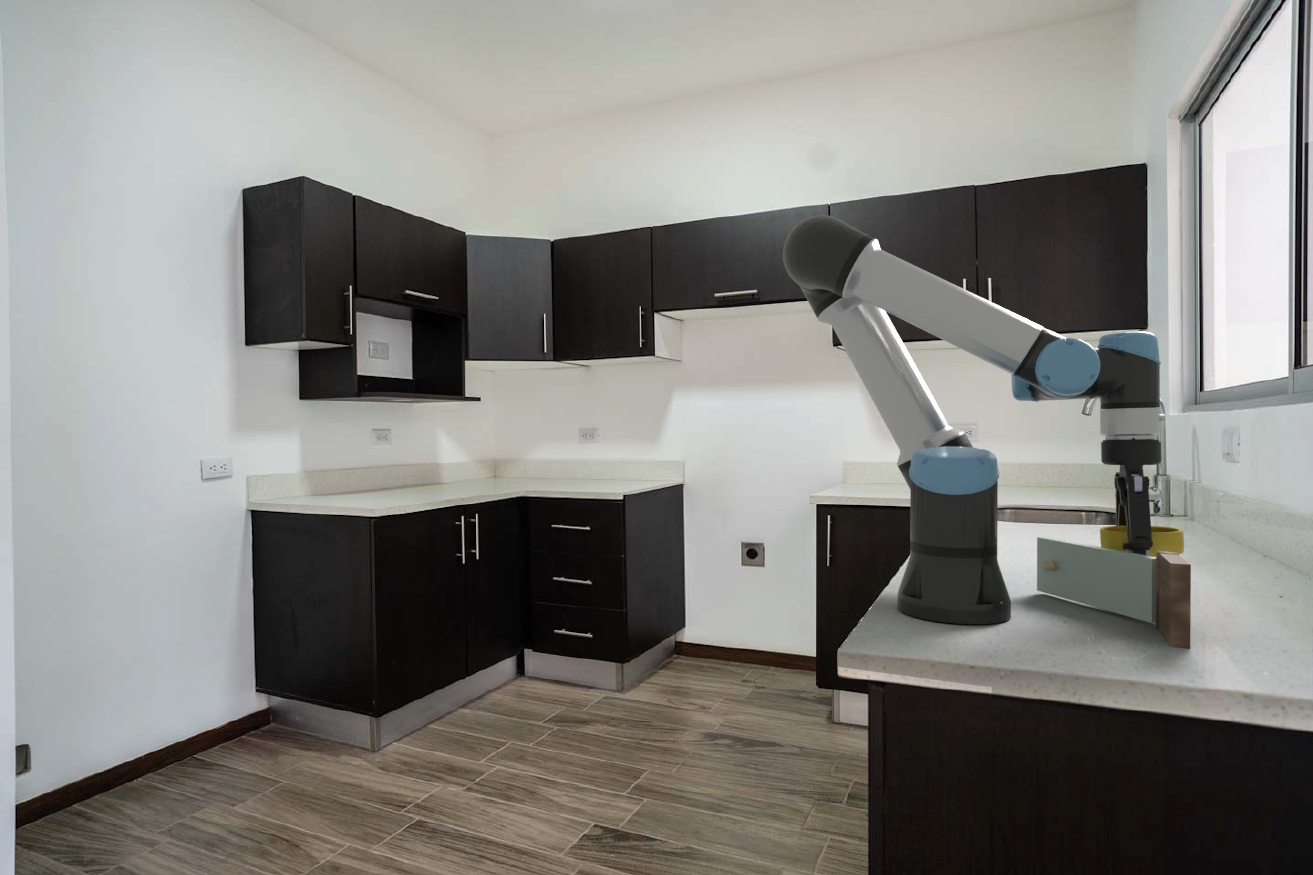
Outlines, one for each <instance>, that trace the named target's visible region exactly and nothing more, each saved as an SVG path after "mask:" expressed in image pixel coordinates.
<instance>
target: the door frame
mask: <svg viewBox="0 0 1313 875" xmlns="http://www.w3.org/2000/svg"><path fill="white" fill-rule="evenodd" d="M1191 577H1192V565H1191V564H1190V562H1189V561H1188V560H1186V559H1185V558H1183V557H1182V556H1181V555H1180V554H1179V555H1178V553H1175V552H1165V551H1158V552H1156V623H1155V629H1156V630H1159V632H1160V634H1161V636H1163V638H1164V639H1165V641H1166V642H1167V644H1168V645H1169V646H1170V647H1176V648H1177V647H1178V648H1185V649H1187V648H1188V649H1191V617H1192V616H1191V610H1192V609H1191V608H1192V607H1191V606H1192V605H1191V604H1192V602H1191V599H1192V597H1191V596H1192V595H1191V591H1192V590H1191V588H1192V584H1191V583H1192V580H1191V579H1192V578H1191Z"/></svg>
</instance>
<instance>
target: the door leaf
mask: <svg viewBox="0 0 1313 875" xmlns="http://www.w3.org/2000/svg"><path fill="white" fill-rule="evenodd" d="M1036 539H1037V541H1036V545H1037V546H1036V591H1037V592H1041V593H1045V594H1049V595H1051V596H1055V597H1059V598H1062V599H1064V600H1065V599H1066V600H1069V601H1073V602H1076V603H1080V604H1084V605H1088V606H1091V607H1094V608H1098V609H1102V610H1104V611H1109V612H1110V613H1111V612H1112V613H1115V614H1119V615H1123V616H1125V617H1130V618H1132V619H1136V620H1140V621H1143V622H1144V621H1145V622H1147V623H1150V624H1156V557H1152V556H1146V555H1141V554H1136V553H1130V552H1125V551H1119V550H1114V549H1109V548H1103V547H1101V546H1096V545H1093V544H1092V545H1091V544H1086V543H1081V542H1075V541H1070V540H1066V539H1065V540H1064V539H1059V538H1054V537H1049V536H1038V537H1037V538H1036Z"/></svg>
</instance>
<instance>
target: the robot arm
mask: <svg viewBox="0 0 1313 875" xmlns="http://www.w3.org/2000/svg"><path fill="white" fill-rule="evenodd" d="M782 260H783V266H784V268H785V270H786V273H787V274H788V276H789V277H790V278H791V280H793V281H794V283H795V284H797V285H798V286H799V287H800V289H801V291H802V293H803V295H804V297H805V298H806V300H807V302H808V304H809V306H810V308H811V309H812V311H813V312H814V315H815V317H816V319H817V321H818V322H820V323H824V324H828V325H830V326H831V327H832V329H833V331H834V333H835V334H836V336H837V338H838V339H839V341H840V343H841V345H842V347H843V349H844V350H845V352H846V354H847V355H848V358H849V359H850V361H851V363H852V365H853V367H854V369H855V370H856V372H857V374H858V376H859V378H860V379H861V381H862V383H863V385H864V387H865V389H866V391H867V393H868V395H869V397H870V398H871V400H872V401H873V403H874V404H873V405H875V407H876V409H877V411H878V413H879V415H880V416H881V419H882V421H883V422H884V424H885V426H886V427H887V430H888V431H889V433H890V434H891V437H892V438H893V440H894V442H895V445H896V446H897V448H898V449H899V455H898V459H897V462H896V465H897V467H898V470H899V471H900V473H901V475H902V477H903V478H904V480H905V483H906V484H907V486H908V488H909V489H910V490H909V491H910V506H909V507H910V512H909V513H910V517H909V518H910V520H909V521H910V523H909V525H910V527H909V528H910V530H909V531H910V532H909V533H910V535H909V536H910V537H909V538H910V540H909V541H910V542H909V543H910V547H909V548H910V551H909V552H910V553H909V558H908V561H907V564H906V568H905V570H904V574H903V576H902V579H901V581H900V582H901V583H900V584H899V587H898V591H897V605H896V606H897V609H898V610H899V611H900V612H902V613H904V614H905V615H907V616H911V617H914V618H918V619H921V620H927V621H932V622H937V623H938V622H940V623H946V624H947V623H949V624H957V625H958V624H959V625H986V624H987V625H988V624H989V625H991V624H998V623H1003V622H1006V621H1009V620H1010V619H1011V618H1012V601H1011V597H1010V594H1009V591H1008V588H1007V586H1006V583H1005V580H1004V577H1003V574H1002V571H1001V568H1000V565H999V561H998V524H999V523H998V516H999V515H998V511H999V510H998V506H999V505H998V500H999V499H998V496H999V494H998V492H999V490H998V489H999V488H998V487H999V483H998V480H999V478H1000V470H999V466H998V458H997V457H996V455H995V454H994V453H993V452H992V451H990V450H988V449H985V448H984V449H982V448H977V447H974V446H973V444H972V442H971V440H969V437H968V436H967V433H966V432H965V430H961V429H958V428H955V427H952V426H950V424H949V423H948V420H947V419H946V417H945V414H944V413H943V411H942V409H941V408H940V406H939V405H938V403H937V400H936V399H935V397H934V395H933V394H932V392H931V390H930V388H929V386H928V385H927V383H926V381H925V380H924V377H923V376H922V374H921V372H920V370H919V369H918V367H917V365H916V363H915V361H914V359H913V358H912V356H911V355H910V353H909V350H908V349H907V346H906V345H905V343H904V342H903V340H902V338H901V337H900V334H899V333H898V332H897V329H896V327H895V326H894V323H893V322H892V321H891V318H890V317H889V315H888V314H890V315H892V316H894V317H896V318H898V319H901V320H902V321H905V322H906V323H908V324H910V325H913V326H914V327H916V328H918V329H921V330H922V331H924V332H927V333H928V334H931V335H933V336H935V337H936V338H939V339H941V340H942V341H945V342H947V343H948V344H951V345H953V346H954V347H957V348H958V349H961V350H963V351H965V352H966V353H969V354H970V355H973V356H975V357H977V358H978V359H979V360H980V359H981V360H982V361H985V362H986V363H988V364H991V365H993V366H994V367H996V368H998V369H1001V370H1002V371H1004V372H1007V373H1009V374H1011V390H1012V391H1011V392H1012V396H1013V398H1014V399H1015V400H1017V401H1019V402H1021V401H1022V402H1024V401H1025V402H1027V401H1029V402H1036V403H1037V402H1038V403H1039V402H1040V401H1041V402H1043V401H1063V400H1066V401H1067V400H1083V399H1085V400H1086V399H1088V400H1094V399H1099V402H1100V403H1099V404H1100V409H1099V421H1100V422H1099V424H1100V425H1099V426H1100V427H1099V430H1100V434H1099V435H1101V436H1102V437H1104V439H1103V440H1102V441H1101V442H1100V448H1101V449H1100V452H1101V453H1100V454H1101V455H1100V457H1101V458H1100V459H1101V460H1100V461H1101V463H1102V464H1104V465H1106V466H1119V471H1116V472H1115V474H1114V479H1113V480H1114V488H1115V494H1114V495H1115V496H1114V498H1115V525H1114V526H1127V535H1128V543H1123V546H1122V548H1123V549H1127V552H1130V553H1136V554H1141V555H1146V556H1150V548H1151V547H1152V546H1153V541H1152V534H1151V526H1152V524H1151V521H1152V520H1151V509H1150V508H1151V507H1150V494H1149V493H1150V492H1149V490H1150V478H1149V476H1147V475H1146V476H1145V474H1144V469H1143V468H1144V466H1156V465H1160V464H1161V462H1162V441H1160V439H1159V438H1157V439H1156V436H1159V435H1161V422H1163V421H1165V420H1166V416H1165V414H1164V413H1163V414H1162V413H1161V414H1160V412H1161V410H1160V409H1161V408H1160V407H1161V404H1160V400H1161V398H1160V397H1161V393H1160V392H1161V390H1160V389H1161V388H1160V386H1161V384H1160V382H1161V380H1160V379H1161V378H1160V374H1161V373H1160V372H1161V371H1160V370H1161V369H1160V368H1161V366H1160V365H1161V360H1160V352H1159V341H1158V337H1157V336H1156V335H1155V334H1154V333H1152V332H1150V331H1124V332H1116V333H1115V332H1114V333H1107V334H1104V335H1102V336H1100V338H1099V340H1098V345H1097V347H1093V346H1092V345H1091V344H1089V343H1088V342H1085V341H1084V340H1081V339H1078V338H1073V337H1066V336H1063V335H1061V334H1059V333H1057V332H1055V331H1052V330H1050V329H1047V328H1045V327H1044V326H1042V325H1040V324H1038V323H1036V322H1033V321H1031V320H1029V319H1028V318H1026V317H1023V316H1021V315H1019V314H1017V313H1016V312H1013V311H1010V310H1009V309H1006V308H1004V307H1002V306H1000V305H999V304H996V303H994V302H991V301H990V300H987V298H986V299H985V298H984V297H982V296H979V295H978V294H975V293H973V292H972V291H971V292H970V291H969V290H966V289H964V288H963V287H961V286H958V285H956V284H954V283H951V282H949V281H948V280H946V279H944V278H941V277H940V276H937V275H935V274H933V273H931V272H929V271H927V270H924V269H923V268H921V267H918V266H916V265H914V264H913V263H910V262H908V261H905V260H904V259H902V258H900V257H897V256H896V255H893V254H891V253H889V252H888V251H885V250H884V249H882V248H881V246H880V243H879V240H878V239H877V238H874V237H873V236H870V235H868V234H867V233H864V232H862V231H861V230H859V229H857V228H855V227H853V226H852V225H850V224H848V223H847V222H845V221H843V220H841V218H838V217H835V216H832V215H827V214H826V215H825V214H819V215H813V216H810V217H807V218H805V219H803V220H801V221H800V222H798V223H797V224H796V225H795V226H794V227H793V228H792V229H791V230H790V232H789V233H788V235H787V236H786V239H785V241H784V244H783V250H782ZM887 313H888V314H887Z"/></svg>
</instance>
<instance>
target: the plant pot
mask: <svg viewBox="0 0 1313 875" xmlns="http://www.w3.org/2000/svg"><path fill="white" fill-rule="evenodd" d="M1151 534H1152V541H1153V546H1152V547H1151V548H1150V556H1152V557H1156V552H1158V551H1165V552H1175V553H1178V555H1179V556H1180V555H1181V554H1184V551H1185V541H1184V540H1185V538H1184V531H1183V529H1182V528H1178V527H1171V526H1159V525H1151ZM1099 535H1100V538H1099V539H1100V540H1099V541H1100V547H1103V548H1109V549H1114V550H1119V551H1125V552H1127V549H1123V548H1122V546H1123V543H1128V535H1127V526H1115V525H1110V526H1103V527H1101V528H1100V530H1099Z"/></svg>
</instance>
